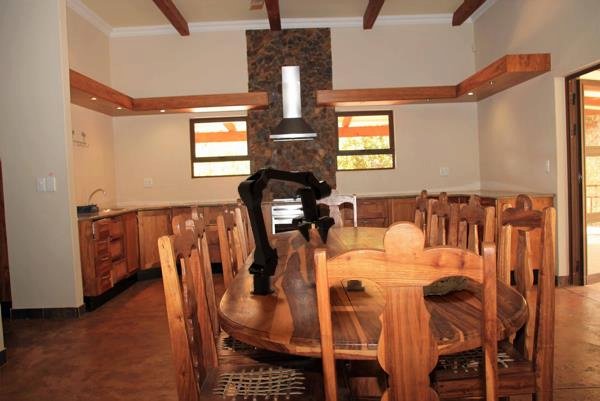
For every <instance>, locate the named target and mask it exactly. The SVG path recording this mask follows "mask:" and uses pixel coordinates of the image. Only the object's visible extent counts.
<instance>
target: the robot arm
mask: <svg viewBox="0 0 600 401" xmlns="http://www.w3.org/2000/svg"><path fill="white" fill-rule="evenodd" d="M269 181H276V182H277V181H279V182H284V183H289V184H291V185H293V186H296V187H298V188H297V190H296V191H295V193H294V195H295V196H299V197H300V202H301V207H300V209H299V210H300V212H302V213H303V215H302V214H300V215H298V216H295V217H293V218H292V219H291V225H292V226H293V227H294V228H295V229H296V230H297V231H298V232H299V234H300V235H302V238H304V240H305V241H306V242H307V243H310V241H311V239H310V232H309V231H310V230H309V228H310V227H309V226H310V224H311V225H316V227H317V228H316V229H317V232H318V235H319V237H320V239H321V241H322V243H323V245H326V244H327V241H328V236H329V231H330V229H331V228H332V227H333V226H334V225H336V222H335V221H336V220H335V218H334V217H332V216H331V215H330V214H331V209H330V208H324V207H321V205H320V204H319V203H317V201H320V200H323V199H326V198H329V197H331V195H332V193H333V192H332V190H333V189H332V188H331V185H329V183H327V180H320V181H319V180H318V179H317V177H316V176H315V175H314V172H313V171H311V170H307V171H306V170H305V171H289V170H288V171H287V170H284V169H283V170H282V169H277V168H271V167H260V168H259V169H258V170H257V171H255V172H254V173H253V174H252V175H249V177H247V178H246V179H245V180H243V181H241V182H240V183H239V184H238V186H237V193H238V195H239V198H240V201H241V202H242V203H243V204H244V206H245V208H246V209H247V214H248V218H249V220H248V221H249V223H250V228H251V232H252V237H253V242H254V246H255V247H254V248H255V249H254V251H253V261H252V263H251V264H250V266H249V267H248V268H247V271H248V274H249V275H253V276H252V282H253V284H252V285H253V290H251V291H249V294H252V295H253V294H254V295H261V296H262V295H263V296H267V295H268V294H271V293H273V292H275V291H276V290H275V289H272V277H274V276H275V274H276V271H277V266H278V265H279V259H280V257H279V255H278V250H277V249H278V248H277V247H274V246H272V245H270V241H269V237H268V233H267V232H268V231H267V227H266V222H265V217H264V213H263V208H262V201H263V197H264V189H265V188H267V186H268V184H269ZM303 187H304V188H303Z"/></svg>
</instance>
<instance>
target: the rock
mask: <svg viewBox="0 0 600 401" xmlns="http://www.w3.org/2000/svg"><path fill="white" fill-rule="evenodd" d="M467 285H468V277H467V278H465V276H463V277H447V278H443V279H440V280H438V281H436V282H434V283H432V284H431V285H429V286H425V287H424V288H423V289H424V296H426V295H429V294H433V295H440V296H442V295H443V296H444V295H447V293H448V294H450V293H449V292H451V291H454V292H456V291H463V290H462V289H465V290H466V287H467ZM455 290H456V291H455ZM451 293H452V292H451ZM424 296H423V297H424Z"/></svg>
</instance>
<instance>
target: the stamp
mask: <svg viewBox="0 0 600 401" xmlns="http://www.w3.org/2000/svg"><path fill="white" fill-rule="evenodd" d="M346 287H347V289H348V291H361V289H362V287H363V280H350V279H349V280H348V279H347V282H346Z"/></svg>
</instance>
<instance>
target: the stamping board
mask: <svg viewBox="0 0 600 401" xmlns="http://www.w3.org/2000/svg"><path fill="white" fill-rule="evenodd" d="M343 292H344V293H346V292H347V293H348V292H349V293H354V292H355V293H359V292H360V293H361V292H362V293H364V292H365V293H366V286H362V289H361V291H348V289H347V286H344V288H343Z"/></svg>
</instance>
